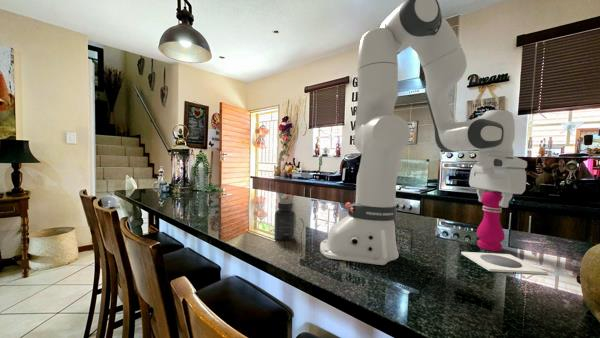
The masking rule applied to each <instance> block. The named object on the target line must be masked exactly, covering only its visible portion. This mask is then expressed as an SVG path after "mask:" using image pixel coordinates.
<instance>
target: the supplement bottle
mask: <svg viewBox="0 0 600 338" xmlns="http://www.w3.org/2000/svg"><path fill="white" fill-rule="evenodd" d="M293 209H294V207H293V202H292V201H279V202H278V205H277V210H275V212H274V231H273V232H274V234H273V235H274V239H275V240H277V241H280V242H288V241H290V242H291V241H292V240H293V239H295V235H296V213H295V211H294V210H293Z"/></svg>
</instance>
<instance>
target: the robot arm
mask: <svg viewBox="0 0 600 338" xmlns="http://www.w3.org/2000/svg"><path fill="white" fill-rule="evenodd" d="M359 42H360V43H359V47H358V53H357V64H356V65H357V71H356V72H357V73H356V74H357V101H356V102H357V103H356V104H357V105H356V110H355V111H356V112H355V113H356V114H355V124H354V125H355V126H354V136H353V137H354V139H353V143H354V146H355V148H356V150H357V151H358V152H359V153H360V154H361V157H360V162H359V167H358V170H357V171H358V172H357V175H356V185H355V202H353V203H351V202H346V203H345V206H344V207H345V209H347V215H346V216H345V217H343V218H342V219H341V220H339V221H338V222H336V223H334V224H332V225H331V227H330V229H329V232H328V235H327V238H325V239H324V240H321V242H320V244H319V251H320V254H322V255H323V256H324V257H325V258H327V259H333V260H340V261H341V260H342V261H347V262H354V263H355V262H356V263H361V264H369V265H370V264H371V265H380V266H385V265H386V264H387V263H389V262H391V261H394V260H397V259H398V258H399V255H400V254H399V250H398V248H397V247H398V246H397V240H396V229H395V228H396V227H395V226H396V223H397V216H398V215H397V206H396V195H397V194H396V193H397V181H398V175H399V169H400V165H401V162H402V158H403V154H404V151H405V148H406V147H407V145H408V144H409V141H410V138H411V129H410V126H409V124H408V122H407V121H406V120H405V119H404V118H403V117H401V116H398V115H396V114H394V109H395V105H396V103H397V100H398V96H399V72H398V71H399V65H398V55H399V54H400V53H402V52H403V51H405V50H407V49H408V48H410V49H412V50H413V51H415V53H416V54H417V57H418V60H419V63H420V65H421V67H422V70H423V73H424V78H425V88H424V93H425V94H424V95H425V99H426V102H427V106H428V109H429V112H430V113H429V114H430V117H431V120H432V124H433V129H434V139H435V143H436V146H437V147H438V148H439V149H440V150H441V151H442V152H445V153H449V154H450V153H457V152H465V151H466V152H467V151H468V152H469V151H478V158H477V159H478V161H476V162H475V163H474V164H473V165H472V167H471V169H470V173H469V179H468V185H469V186H470V188H474V189H476V194H477V197H478V202H480V203H482V201H481V197H482V195H483V194H484V193H486V190H487V191H490V190H492V191H496V192H498V193H501V194H502V196H503V198H502V200H501V201H499V206H500V207H501V208H506V209H507V208H509V205H510V204H509V202H510V201H511V200H512V198H513V195H522V194H524V192H525V191H526V187H527V186H526V185H527V184H526V183H527V173H526V170H525V169H526V168H527V167H528V161H526V160H523V159H522V158H519V157H517V156H514V153H515V152H514V149H513V143H514V141H515V135H516V132H515V131H516V124H515V123H516V122H515V118H514V114H513V113H512V112H510V111H509V110H505V109H489V110H487V111H485V112H483V114H481V115H479V116H478V117H475V118H472V119H468V120H465V121H458V122H457V121H455V120H454V119H453V115H452V112H451V108H450V104H449V99H448V98H449V93H450V91H451V90H452V89H453V88H454V86H456V84H457V83H459V81H460V80H461V79H462V77H463V76H464V75H465V72H466V70H467V66H468V64H467V58H466V57H467V56H466V55H465V51H464V50H463V47H462V45H461V44H462V43H460V39H459V38H458V36H457V34H456V33H455V31H454V29H453V28H452V26H451V25H450V23H449V22H448V21H447V20H446V19H445V18H443V17H442V10H441V6H440V4H439V2H438V0H403V2H401V4H400V5H399V6H397V7H396V8H395V9H394V10H393V11H391V12H390V13H389V14H388V15H387V17H386V18H384V20H383V21H382V22H381V24H380V25H379V26H377V27H375V28H374V27H373V28H372V29H369V30H368V31H366V32H365V33H364V34H363V35H362V37H361V38H360V41H359Z"/></svg>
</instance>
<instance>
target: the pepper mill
mask: <svg viewBox="0 0 600 338" xmlns="http://www.w3.org/2000/svg"><path fill="white" fill-rule="evenodd" d="M502 198H503V196H502V193H501V192H498V191H492V190H489V191H485V192H484V194H483V195H482V197H481V201H482V202H481V203H482V204H483V205H482V211H483V217H482V220H481V222H480V224H479V225H478V227H477V229H476V236H477V238H479V239H478V241H477V247H478V248H481V249H484V250H486V251H490V252H501V251H503V245H502V244H501V243H502V242H503V241H505V238H506V237H505V236H506V235H505V231H504V229H503V227H502V224H501V221H500V220H501V219H500V217H501V216H500V215H501V213H502V211H503V210H502V208H503V207H500V206H499V201H501V200H502Z"/></svg>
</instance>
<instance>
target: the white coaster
mask: <svg viewBox="0 0 600 338" xmlns="http://www.w3.org/2000/svg"><path fill="white" fill-rule="evenodd" d="M460 254H461V255H463V256H464V257H465V258H468V259H469V260H470V261H472V262H474V263H476V265H478V266H480V267H482V268H484V269H485V270H487V271H488V272H495V273H496V272H497V273H513V272H514V273H515V272H516V273H517V274H533V275H534V274H535V275H548V271H546V270H544V269H542V268H540V267H538V266H535V265H533V264H531V263H529V262H527V261H525V260H522V259H520V258H519V257H516V256H515V255H512V254H510V253H493V252H492V253H491V252H490V253H489V252H473V251H471V252H470V251H461V252H460ZM514 273H513V274H514Z"/></svg>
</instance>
